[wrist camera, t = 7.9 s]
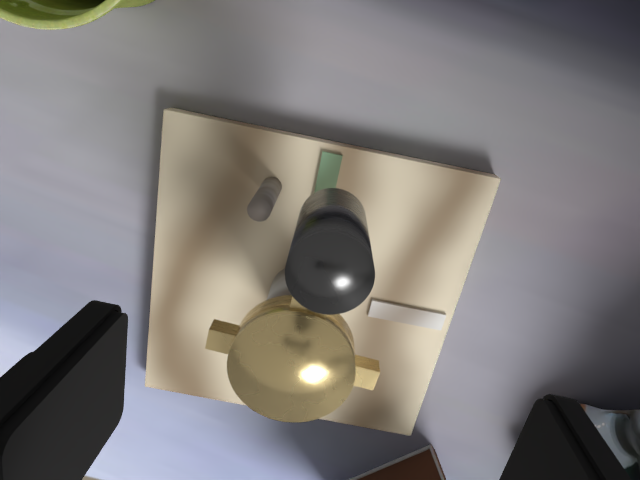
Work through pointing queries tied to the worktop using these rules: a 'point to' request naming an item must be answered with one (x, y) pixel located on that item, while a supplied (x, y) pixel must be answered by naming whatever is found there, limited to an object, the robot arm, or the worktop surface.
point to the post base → (274, 244)
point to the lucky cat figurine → (619, 435)
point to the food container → (408, 467)
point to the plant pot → (60, 11)
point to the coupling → (306, 319)
